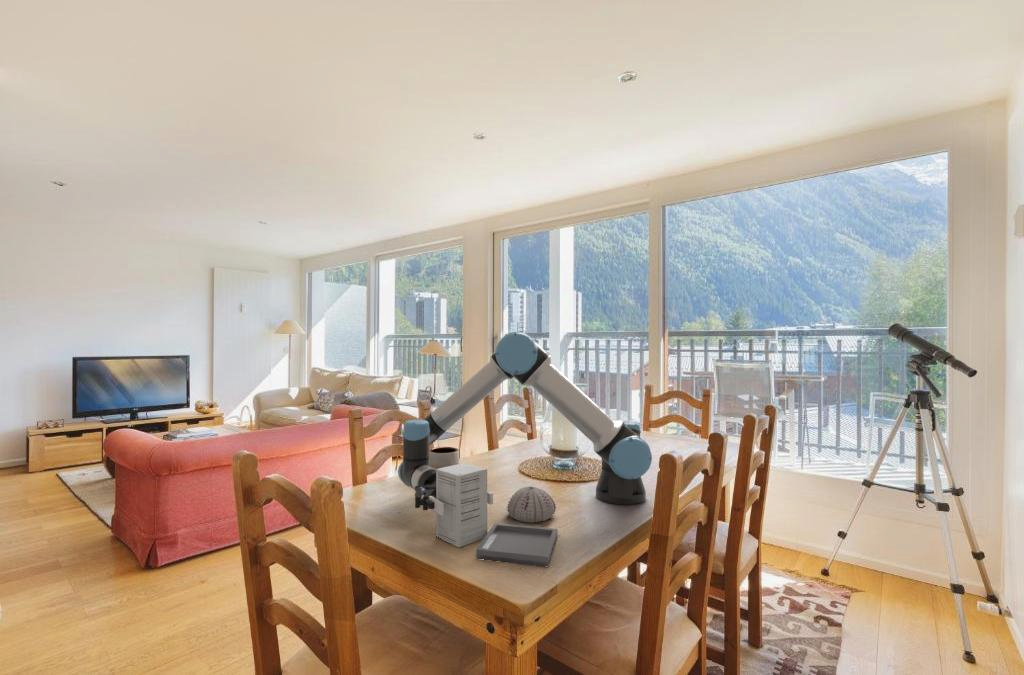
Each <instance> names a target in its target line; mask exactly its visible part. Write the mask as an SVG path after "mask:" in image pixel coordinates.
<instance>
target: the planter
mask: <svg viewBox="0 0 1024 675" xmlns="http://www.w3.org/2000/svg"><path fill="white" fill-rule="evenodd" d="M459 452H460V451H459V448H457V447H452V446H437V447H432V448H429V466H430V467H432V468H434V469H439V468H443V467H448V466H453V465H457V464H460V458H459V457H460V453H459Z"/></svg>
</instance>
